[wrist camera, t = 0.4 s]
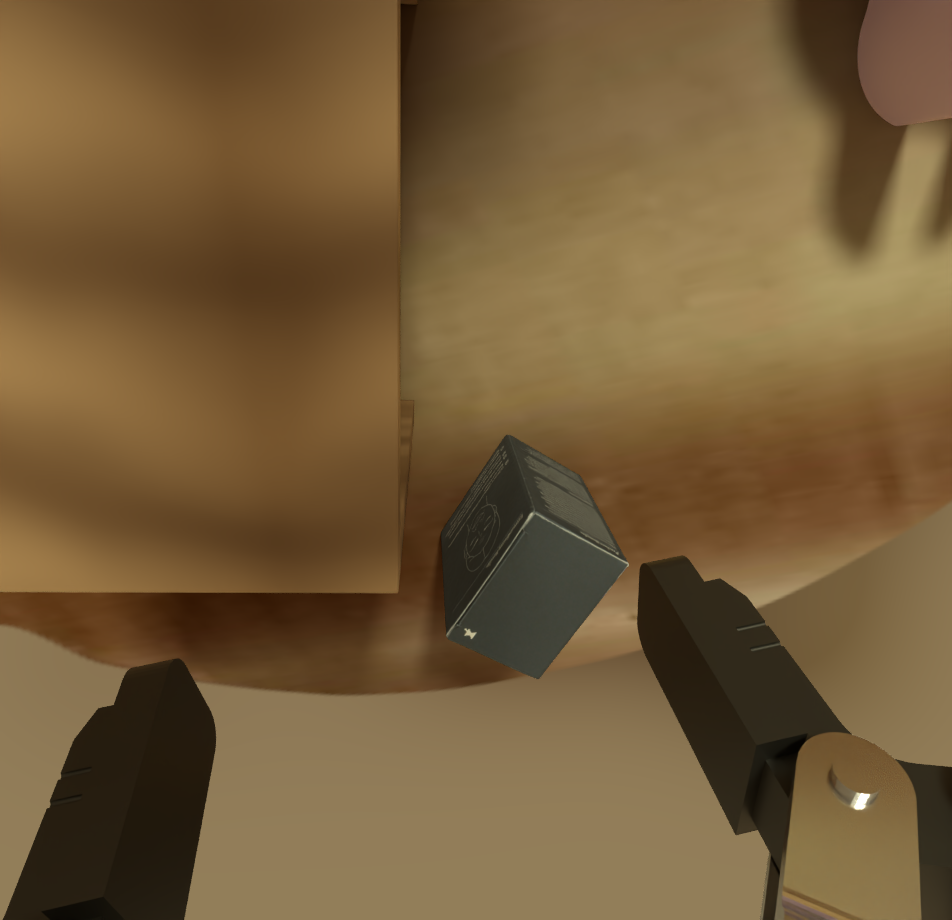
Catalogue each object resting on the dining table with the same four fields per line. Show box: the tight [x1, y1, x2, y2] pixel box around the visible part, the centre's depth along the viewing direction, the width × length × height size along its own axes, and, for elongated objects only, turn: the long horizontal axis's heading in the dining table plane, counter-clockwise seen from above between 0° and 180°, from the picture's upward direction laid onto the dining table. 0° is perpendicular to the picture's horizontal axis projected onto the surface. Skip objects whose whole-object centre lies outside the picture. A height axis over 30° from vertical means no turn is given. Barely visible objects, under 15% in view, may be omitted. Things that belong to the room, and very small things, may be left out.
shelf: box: [0, 0, 417, 593], centre depth 24 cm, size 21×14×18 cm
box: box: [441, 435, 629, 679], centre depth 35 cm, size 8×6×11 cm
